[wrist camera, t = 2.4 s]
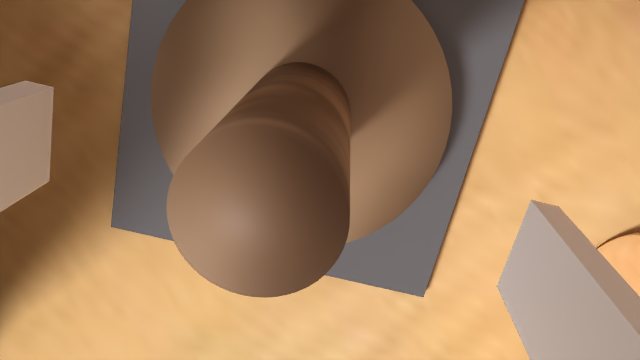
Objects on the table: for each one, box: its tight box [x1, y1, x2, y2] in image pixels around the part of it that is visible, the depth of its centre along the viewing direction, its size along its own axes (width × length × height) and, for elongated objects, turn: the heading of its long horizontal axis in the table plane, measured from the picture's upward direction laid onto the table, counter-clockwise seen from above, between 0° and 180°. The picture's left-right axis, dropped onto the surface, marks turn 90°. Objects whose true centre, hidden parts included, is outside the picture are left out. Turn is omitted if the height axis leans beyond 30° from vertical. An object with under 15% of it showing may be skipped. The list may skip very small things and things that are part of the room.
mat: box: [111, 0, 525, 297], centre depth 24 cm, size 16×16×1 cm
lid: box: [151, 0, 452, 297], centre depth 18 cm, size 13×13×12 cm
